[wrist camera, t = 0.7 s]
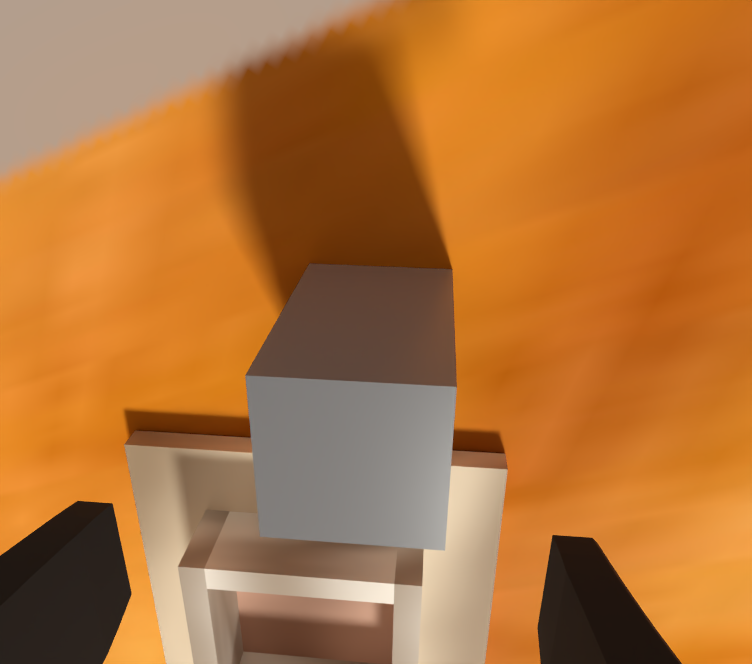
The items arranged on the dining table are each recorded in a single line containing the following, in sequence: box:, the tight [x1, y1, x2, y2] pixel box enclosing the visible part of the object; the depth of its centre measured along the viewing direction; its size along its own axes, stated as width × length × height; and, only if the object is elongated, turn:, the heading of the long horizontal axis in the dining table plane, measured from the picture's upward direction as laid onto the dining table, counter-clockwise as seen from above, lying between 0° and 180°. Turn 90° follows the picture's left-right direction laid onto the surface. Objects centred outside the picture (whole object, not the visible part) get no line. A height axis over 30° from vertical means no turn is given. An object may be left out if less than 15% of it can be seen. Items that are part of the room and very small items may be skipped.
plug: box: [245, 263, 457, 551], centre depth 16 cm, size 4×4×6 cm
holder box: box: [124, 430, 508, 664], centre depth 22 cm, size 12×12×3 cm
